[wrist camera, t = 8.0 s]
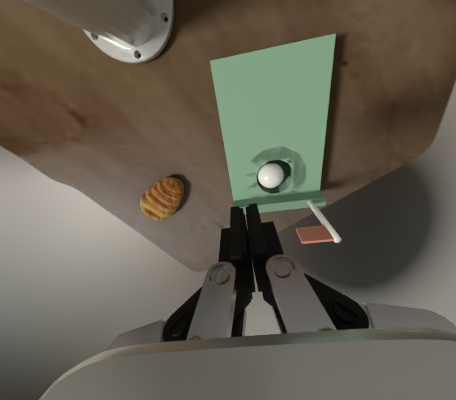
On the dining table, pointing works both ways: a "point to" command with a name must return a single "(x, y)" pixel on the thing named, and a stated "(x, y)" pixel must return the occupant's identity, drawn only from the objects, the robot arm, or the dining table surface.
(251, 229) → the robot arm
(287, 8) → the dining table surface
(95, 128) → the dining table surface
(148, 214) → the pastry
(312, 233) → the flag
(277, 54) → the mat
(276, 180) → the ball
